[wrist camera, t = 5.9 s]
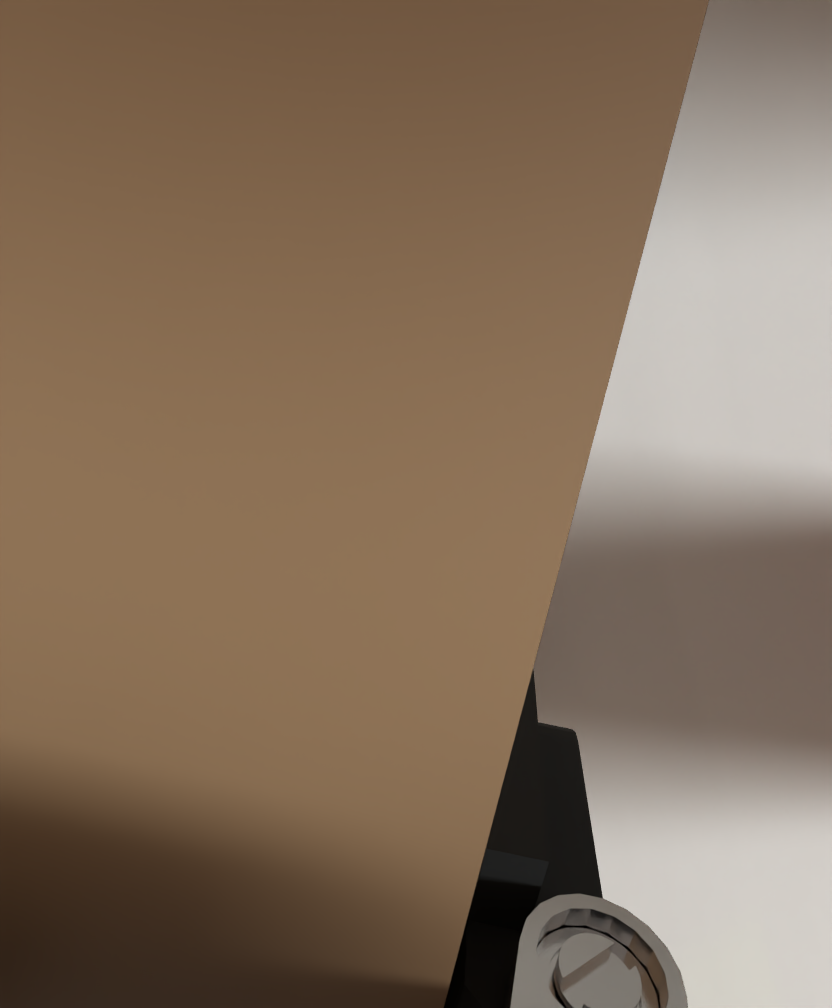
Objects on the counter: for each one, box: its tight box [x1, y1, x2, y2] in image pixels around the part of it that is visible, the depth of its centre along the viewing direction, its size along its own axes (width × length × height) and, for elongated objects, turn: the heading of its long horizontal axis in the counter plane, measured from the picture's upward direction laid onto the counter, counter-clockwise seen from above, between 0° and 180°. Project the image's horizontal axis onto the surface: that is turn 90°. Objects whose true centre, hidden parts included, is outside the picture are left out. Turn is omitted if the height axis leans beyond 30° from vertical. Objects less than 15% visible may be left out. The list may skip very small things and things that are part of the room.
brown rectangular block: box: [0, 0, 709, 1008], centre depth 8 cm, size 16×4×6 cm, turn 171°
